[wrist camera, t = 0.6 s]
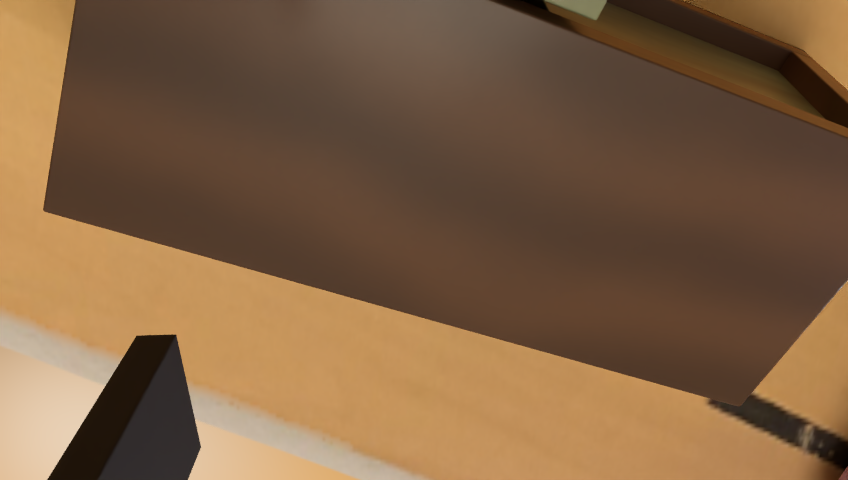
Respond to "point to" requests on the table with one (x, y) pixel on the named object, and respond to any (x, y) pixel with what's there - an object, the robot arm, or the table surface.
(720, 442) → the table surface
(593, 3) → the sliding door
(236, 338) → the table surface
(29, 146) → the table surface
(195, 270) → the table surface
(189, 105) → the cabinet
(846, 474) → the pastel lumpy blob
